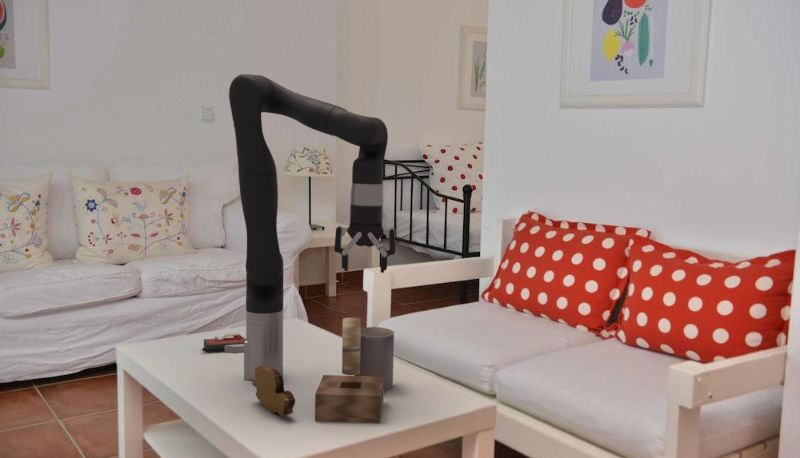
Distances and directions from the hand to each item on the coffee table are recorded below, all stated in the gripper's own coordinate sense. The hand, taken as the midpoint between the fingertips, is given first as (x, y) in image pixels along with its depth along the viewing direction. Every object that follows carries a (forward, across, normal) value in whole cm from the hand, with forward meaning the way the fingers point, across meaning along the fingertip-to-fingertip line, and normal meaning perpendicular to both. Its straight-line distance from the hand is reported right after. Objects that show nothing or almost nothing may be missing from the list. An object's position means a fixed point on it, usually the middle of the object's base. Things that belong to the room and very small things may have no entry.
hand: (364, 271), depth 191 cm
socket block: (+29, -1, -14) cm, 32 cm away
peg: (+21, -1, -14) cm, 25 cm away
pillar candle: (+30, +3, +5) cm, 30 cm away
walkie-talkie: (+30, -39, +36) cm, 61 cm away
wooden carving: (+30, -18, -15) cm, 38 cm away
